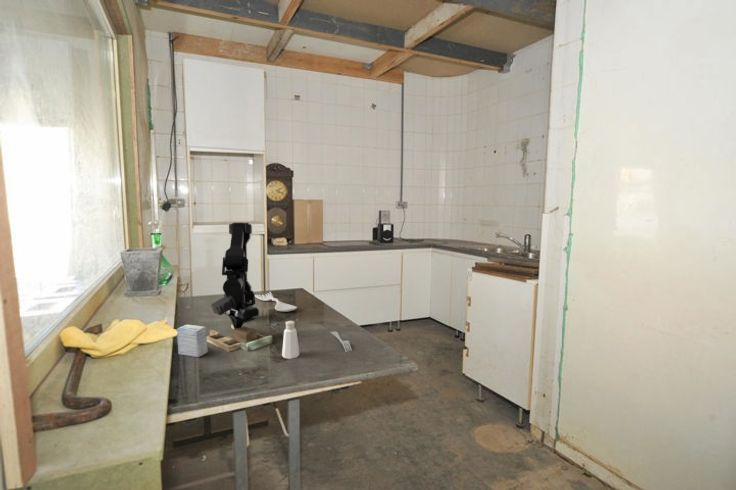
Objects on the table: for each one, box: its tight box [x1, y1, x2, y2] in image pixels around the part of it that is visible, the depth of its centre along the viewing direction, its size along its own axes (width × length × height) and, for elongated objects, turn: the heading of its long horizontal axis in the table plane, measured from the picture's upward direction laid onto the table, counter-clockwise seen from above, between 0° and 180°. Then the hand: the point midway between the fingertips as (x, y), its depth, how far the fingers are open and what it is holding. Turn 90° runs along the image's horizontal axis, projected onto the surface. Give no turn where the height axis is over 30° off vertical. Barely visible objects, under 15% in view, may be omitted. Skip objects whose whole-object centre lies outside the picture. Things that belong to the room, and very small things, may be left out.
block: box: [232, 325, 258, 344], centre depth 134 cm, size 4×7×4 cm, turn 54°
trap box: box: [207, 324, 273, 353], centre depth 135 cm, size 14×24×2 cm, turn 51°
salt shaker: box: [281, 320, 300, 360], centre depth 122 cm, size 5×5×11 cm
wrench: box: [265, 321, 285, 338], centre depth 144 cm, size 5×20×1 cm, turn 37°
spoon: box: [255, 291, 298, 313], centre depth 178 cm, size 9×32×4 cm, turn 38°
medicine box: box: [176, 324, 208, 358], centre depth 123 cm, size 8×4×9 cm, turn 71°
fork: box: [330, 331, 353, 353], centre depth 135 cm, size 3×21×3 cm, turn 20°
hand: (237, 332), depth 137 cm, fingers closed
